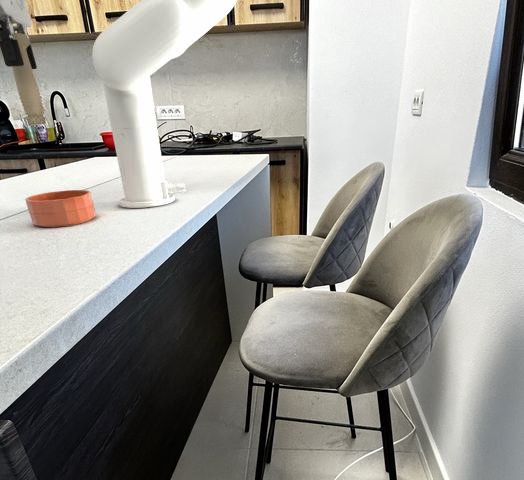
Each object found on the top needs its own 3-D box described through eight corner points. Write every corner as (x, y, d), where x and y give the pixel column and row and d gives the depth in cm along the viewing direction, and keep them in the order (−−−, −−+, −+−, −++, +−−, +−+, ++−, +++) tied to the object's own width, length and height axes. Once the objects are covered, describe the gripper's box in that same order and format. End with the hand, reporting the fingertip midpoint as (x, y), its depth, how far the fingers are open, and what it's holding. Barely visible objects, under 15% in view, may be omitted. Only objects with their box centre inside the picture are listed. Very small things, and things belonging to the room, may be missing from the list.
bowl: (100, 212, 93) (95, 188, 91) (90, 225, 82) (83, 198, 80) (43, 217, 92) (35, 192, 89) (24, 230, 81) (16, 203, 79)
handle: (52, 123, 92) (29, 37, 85) (48, 123, 87) (22, 32, 79) (28, 125, 91) (3, 38, 84) (22, 125, 86) (-6, 33, 78)
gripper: (-12, -74, 68) (26, 62, 77) (27, -41, 83) (55, 70, 92) (-62, -72, 67) (-18, 64, 76) (-13, -39, 82) (19, 72, 91)
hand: (22, 66), depth 84 cm, fingers closed on handle, 6 cm apart
